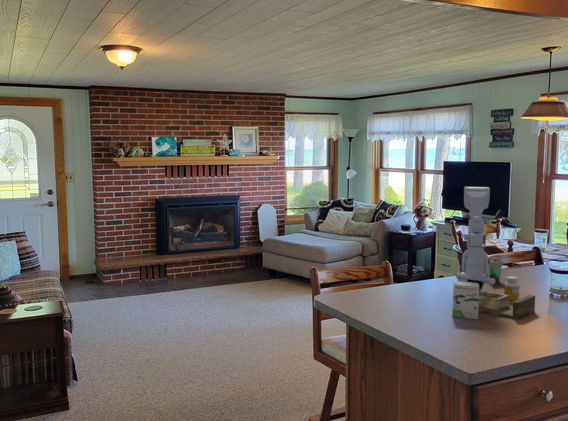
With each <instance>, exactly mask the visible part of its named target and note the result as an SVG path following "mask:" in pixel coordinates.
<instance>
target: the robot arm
mask: <svg viewBox="0 0 568 421" xmlns="http://www.w3.org/2000/svg"><path fill="white" fill-rule="evenodd" d="M463 192H464V193H463V204H464V205H463V206H464V208H465V209H467V210H469V211H468V212H469V215H470V216H469V217H470V218H469V220H468V234H467V235H466V247H467V249H466V250H465V251H464V252H463V253H462V257H461V272H457V273H456V274H455V278H456V280H457V281H460V282H472V283H478V284H479V293H482V292H484V285H485V284H489V285H492V286H493V285H495V279H493V278H489V277H486V275H485V274H486V273H487V269H488V259H487V258H488V255H487V253H486V252H485V248H486V245H487V244H486V243H487V242H486V241H487V237H486V236H487V235H486V231H485V219H484V218H483V217H482V214H483V213H484V210H486V209H488V208H489V204H490V198H491V197H490V196H491V189H490V187H489V186H464V188H463Z"/></svg>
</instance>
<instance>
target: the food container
mask: <svg viewBox="0 0 568 421" xmlns="http://www.w3.org/2000/svg"><path fill="white" fill-rule="evenodd" d="M487 259H488V269H487V273H485V277H489V278H493V279H495V284H500V282H501V281H500V279H501V272H502V271H501V270H502V267H504V265H503V261H502V259H497V258H491V257H490V258H489V257H487ZM495 284H494V285H495Z"/></svg>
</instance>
